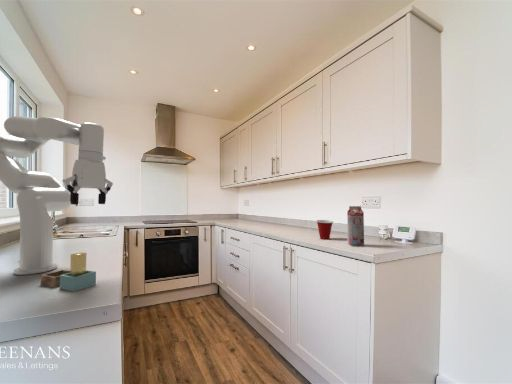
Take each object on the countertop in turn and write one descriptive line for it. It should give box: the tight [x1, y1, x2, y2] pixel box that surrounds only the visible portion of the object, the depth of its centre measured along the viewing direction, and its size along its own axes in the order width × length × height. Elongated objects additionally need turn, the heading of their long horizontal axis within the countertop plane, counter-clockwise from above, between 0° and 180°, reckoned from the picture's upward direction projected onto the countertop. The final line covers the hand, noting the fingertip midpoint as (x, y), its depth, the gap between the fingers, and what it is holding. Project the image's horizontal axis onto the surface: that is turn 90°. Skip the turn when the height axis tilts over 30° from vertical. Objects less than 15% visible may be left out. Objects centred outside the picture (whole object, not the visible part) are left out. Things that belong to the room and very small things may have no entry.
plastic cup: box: [316, 219, 334, 240], centre depth 166 cm, size 11×11×12 cm
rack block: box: [59, 269, 97, 292], centre depth 78 cm, size 7×7×4 cm
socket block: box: [40, 269, 70, 288], centre depth 82 cm, size 7×7×3 cm
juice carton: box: [346, 205, 365, 247], centre depth 143 cm, size 7×7×22 cm
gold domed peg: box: [69, 252, 87, 277], centre depth 78 cm, size 4×4×10 cm
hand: (88, 204), depth 93 cm, fingers open, 9 cm apart
